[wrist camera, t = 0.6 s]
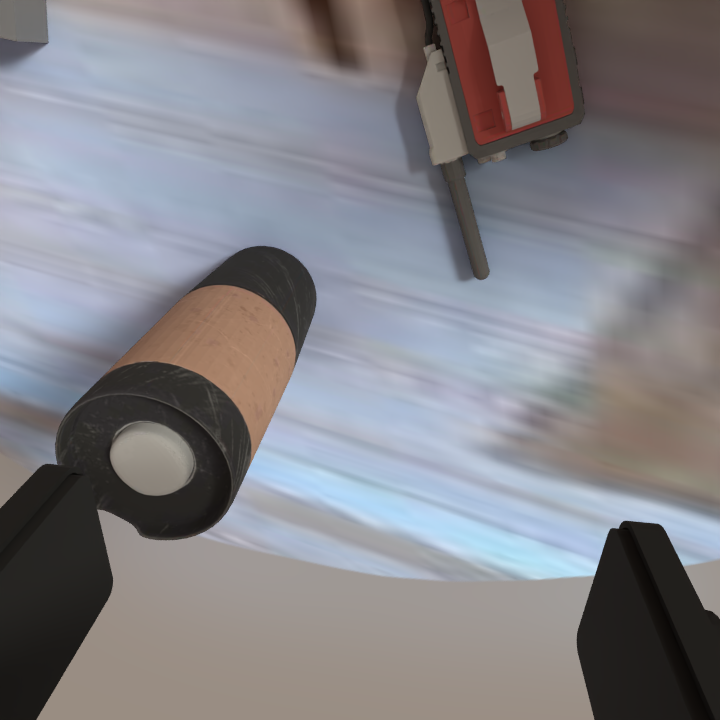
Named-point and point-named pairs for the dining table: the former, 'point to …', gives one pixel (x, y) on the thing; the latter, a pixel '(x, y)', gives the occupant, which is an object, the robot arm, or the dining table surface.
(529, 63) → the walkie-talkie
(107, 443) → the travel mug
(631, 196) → the dining table surface
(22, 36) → the panel
